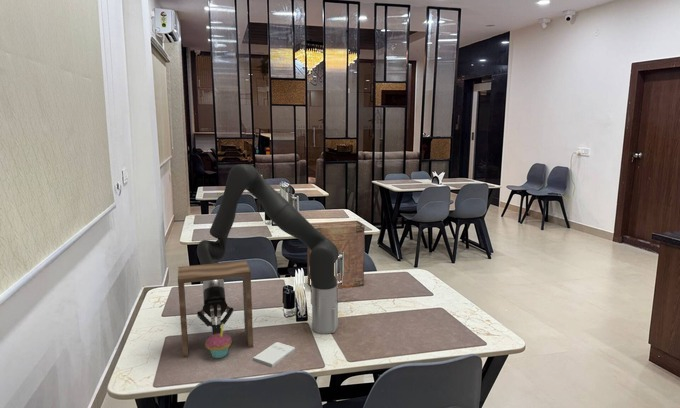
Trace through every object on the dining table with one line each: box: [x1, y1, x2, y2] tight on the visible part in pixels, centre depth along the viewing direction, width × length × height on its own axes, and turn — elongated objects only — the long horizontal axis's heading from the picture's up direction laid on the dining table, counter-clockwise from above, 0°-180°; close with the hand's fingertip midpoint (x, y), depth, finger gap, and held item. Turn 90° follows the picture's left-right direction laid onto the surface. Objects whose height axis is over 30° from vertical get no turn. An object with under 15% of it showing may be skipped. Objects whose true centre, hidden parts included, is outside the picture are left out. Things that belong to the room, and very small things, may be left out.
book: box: [307, 220, 366, 290], centre depth 208 cm, size 25×9×30 cm, turn 108°
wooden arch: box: [177, 260, 254, 359], centre depth 152 cm, size 13×23×28 cm, turn 109°
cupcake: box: [204, 323, 233, 359], centre depth 146 cm, size 9×8×12 cm
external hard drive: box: [252, 341, 296, 368], centre depth 148 cm, size 2×8×12 cm
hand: (217, 336), depth 151 cm, fingers closed
